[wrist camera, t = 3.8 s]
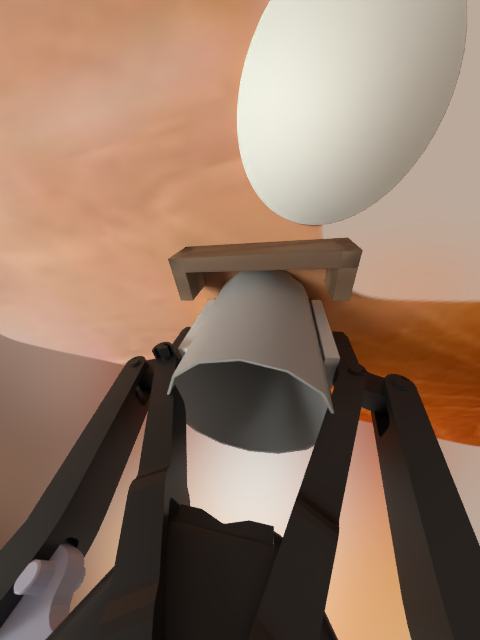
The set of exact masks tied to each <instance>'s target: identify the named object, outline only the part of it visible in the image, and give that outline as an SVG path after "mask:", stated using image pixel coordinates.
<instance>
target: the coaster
mask: <svg viewBox="0 0 480 640" xmlns="http://www.w3.org/2000/svg"><path fill="white" fill-rule="evenodd" d="M466 31H467V0H270V2H269V4H268V5H267V7H266V9H265V11H264V13H263V15H262V17H261V19H260V21H259V24H258V26H257V28H256V31H255V33H254V36H253V38H252V41H251V44H250V47H249V50H248V53H247V56H246V59H245V64H244V68H243V72H242V76H241V82H240V88H239V95H238V107H237V134H238V142H239V150H240V154H241V158H242V163H243V166H244V169H245V172H246V175H247V177H248V179H249V181H250V183H251V185H252V187H253V189H254V190H255V192H256V193H257V195H258V196H259V198H260V199H261V200H262V201H263V202H264V204H265V205H266V206H268V207H269V208H270V209H271V210H272V211H273V212H275V213H276V214H278V215H279V216H281V217H283V218H285V219H287V220H289V221H292V222H296V223H299V224H306V225H322V224H330V223H333V222H337V221H341V220H344V219H346V218H349V217H351V216H354V215H356V214H357V213H359V212H361V211H363V210H365V209H366V208H368V207H369V206H371V205H372V204H374V203H375V202H377V201H378V200H379V199H381V198H382V197H383V196H384V195H386V194H387V193H388V192H389V191H390V190H391V189H392V188H393V187H394V186H395V185H397V183H399V181H401V180H402V178H403V177H404V176H405V175H406V174H407V173H408V172H409V170H410V169H411V168H412V167H413V166H414V164H415V163H416V162H417V160H418V159H419V157H420V156H421V154H422V153H423V152H424V151H425V149H426V147H427V146H428V144H429V142H430V141H431V139H432V138H433V136H434V134H435V132H436V130H437V128H438V127H439V125H440V122H441V121H442V119H443V117H444V115H445V112H446V110H447V107H448V105H449V103H450V100H451V98H452V95H453V92H454V89H455V86H456V82H457V79H458V76H459V73H460V68H461V64H462V59H463V54H464V50H465V40H466Z"/></svg>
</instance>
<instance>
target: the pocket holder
mask: <svg viewBox="0 0 480 640" xmlns="http://www.w3.org/2000/svg"><path fill="white" fill-rule="evenodd" d="M361 254H362V249H360V248H359V247H358V246H357V245H356V244H355V243H353V242H352V241H351V240H350V239H349V238H334V239H317V240H299V241H282V242H265V243H247V244H230V245H213V246H195V247H185V248H184V249H182V250H181V251H179V252H178V253H176V254H175V255H173V256H172V257H170V258H169V259H168V260H169V263H170V266H171V270H172V273H173V276H174V279H175V282H176V286H177V289H178V292H179V295H180V298H181V300H194V299H195V297H196V296H197V295H198V293H199V292H200V291H201V289H202V288H203V287H204V285H205V284H206V283H205V279H204V274H203V272H223V271H258V270H294V269H327V271H326V277H325V284H326V287H327V289H328V291H329V294H330V296H331V298H332V301H349V300H350V296H351V292H352V288H353V284H354V281H355V277H356V273H357V269H358V266H359V261H360V258H361Z"/></svg>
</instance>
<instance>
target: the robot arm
mask: <svg viewBox="0 0 480 640" xmlns="http://www.w3.org/2000/svg"><path fill="white" fill-rule="evenodd" d="M214 302H215V300H213V299H209V300H208V302H207V303H206V305H205V306H204V308H203V310H202V311H201V313H200V314H199V316H198V317H197V319H196V321H195V322H194V324H193V325H192V327H186V328H185V329H183V330H182V331H181V332H180V334H179V336H178V337H177V338H176V340H175V341H174V343H173V344H171V343H170V342H162V343H160V344H158V345H156V346H155V347H154V348H153V350H152V352H153V354H154V356H155V358H156V359H152V360H147V361H146V359H145V358H144V357H143V356H138V357H134V358H132V359H131V360H129V361H128V362H127V363H126V365H125V366H124V368H123V369H122V371H121V373H120V374H119V376H118V377H117V379H116V380H115V382H114V384H113V385H112V387H111V388H110V390H109V392H108V393H107V395H106V396H105V398H104V399H103V401H102V402H101V404H100V406H99V407H98V409H97V411H96V412H95V414H94V415H93V417H92V418H91V420H90V421H89V423H88V425H87V426H86V428H85V429H84V431H83V432H82V434H81V435H80V437H79V439H78V440H77V442H76V443H75V445H74V446H73V448H72V450H71V451H70V453H69V454H68V456H67V457H66V459H65V461H64V462H63V464H62V465H61V467H60V469H59V470H58V472H57V473H56V475H55V476H54V478H53V480H52V481H51V483H50V484H49V486H48V487H47V489H46V490H45V492H44V494H43V495H42V497H41V498H40V500H39V501H38V503H37V505H36V506H35V508H34V509H33V511H32V513H31V514H30V516H29V517H28V519H27V520H26V522H25V523H24V524H23V525H22V526H21V527H20V529H19V530H18V531H17V532H16V533H15V534H14V536H13V537H12V538H11V539H10V540H9V541H8V542H7V543H6V545H5V546H4V547H3V548H2V549H1V550H0V640H338V639H337V637H336V635H335V632H334V630H333V628H332V626H331V624H330V622H329V620H328V617H327V615H326V613H325V611H324V610H325V605H326V600H327V595H328V590H329V584H330V579H331V574H332V569H333V563H334V558H335V552H336V548H337V542H338V536H339V517H340V512H341V507H342V501H343V497H344V492H345V487H346V482H347V476H348V471H349V466H350V462H351V456H352V451H353V446H354V441H355V436H356V430H357V426H358V421H359V416H360V411H361V407H363V408H365V409H368V410H371V415H372V421H373V427H374V433H375V439H376V445H377V450H378V456H379V463H380V469H381V474H382V480H383V487H384V493H385V498H386V505H387V511H388V517H389V523H390V529H391V534H392V541H393V546H394V553H395V559H396V565H397V570H398V576H399V582H400V589H401V594H402V600H403V605H404V609H405V614H406V620H407V624H408V628H409V632H410V636H411V639H412V640H480V546H479V543H478V541H477V538H476V536H475V533H474V531H473V528H472V526H471V523H470V521H469V518H468V516H467V514H466V511H465V508H464V506H463V503H462V501H461V498H460V496H459V493H458V491H457V488H456V486H455V483H454V481H453V478H452V476H451V474H450V471H449V468H448V466H447V463H446V461H445V458H444V456H443V453H442V451H441V448H440V446H439V443H438V441H437V438H436V436H435V433H434V431H433V428H432V426H431V423H430V421H429V418H428V416H427V413H426V411H425V408H424V406H423V403H422V401H421V398H420V396H419V393H418V391H417V388H416V386H415V385H414V383H413V382H411V381H410V380H409V379H407V378H406V377H404V376H401V375H398V374H390V375H387V376H386V377H385V378H383V377H380V376H376V375H373V374H371V373H369V372H367V371H366V369H365V368H364V367H363V366H362V365H360V364H359V363H358V361H357V358H356V356H355V353H354V351H353V349H352V346H351V344H350V342H349V339H348V337H347V336H346V335H345V334H344V333H343V332H331V329H330V326H329V323H328V320H327V317H326V313H325V310H324V307H323V304H322V301H321V300H311V308H312V313H313V317H314V321H315V326H316V330H317V335H318V339H319V343H320V348H321V352H322V356H323V361H324V365H325V369H326V373H327V378H328V382H329V386H330V388H332V384H333V385H334V390H333V393H332V396H331V401H332V405H333V410H334V413H331V412H330V410H329V408H328V407H327V410H326V413H325V416H324V419H323V422H322V425H321V428H320V431H319V434H318V437H317V440H316V443H315V446H314V449H313V452H312V455H311V458H310V461H309V464H308V467H307V469H306V472H305V475H304V479H303V481H302V484H301V487H300V490H299V493H298V496H297V498H296V501H295V504H294V507H293V510H292V513H291V516H290V519H289V522H288V524H287V528H286V530H285V533H284V537H281V536H280V535H279V534H277V533H276V532H274V527H273V526H270V525H265V524H261V523H257V522H253V521H243V522H235V523H228V524H223V523H221V522H220V521H218V520H217V519H215V518H214V517H212V516H211V515H210V514H208V513H207V512H205V511H204V510H202V509H199V508H195V507H191V506H190V499H189V493H188V488H187V456H186V455H187V454H186V409H185V404H184V400H183V398H182V396H181V394H180V393H179V391H178V389H177V387H176V385H174V387H173V389H172V391H171V393H170V394H169V395H168V394H167V393H168V389H169V385H170V382H171V378H172V376H173V374H174V372H175V370H176V369H177V367H178V365H179V363H180V362H181V360H182V358H183V356H184V355H185V353H186V351H187V349H188V348H189V346H190V344H191V342H192V341H193V339H194V337H195V335H196V334H197V332H198V330H199V328H200V327H201V325H202V323H203V321H204V319H205V318H206V316H207V314H208V312H209V311H210V309H211V307H212V305H213V304H214ZM147 411H148V415H147V421H146V427H145V434H144V440H143V446H142V452H141V458H140V465H139V471H138V475H137V477H136V479H134V480H133V481H132V483H131V485H130V487H129V491H128V495H127V501H126V507H125V512H124V517H123V523H122V528H121V534H120V540H119V545H118V550H117V556H116V561H115V566H114V567H113V568H112V569H111V570H110V571H109V572H108V574H106V575H105V577H104V578H103V579H102V580H101V581H100V582H99V583H98V584H97V585H96V586H95V587H94V588H93V589H92V590H91V591H90V593H89V594H88V595H87V596H86V597H85V598H84V599H83V600H82V601H81V602H80V603H79V604H78V605H77V606H76V607H75V608H74V610H73V611H72V612H71V613H70V614H69V609H70V603H71V600H72V596H73V593H74V592H75V591H76V590H77V589H78V588H79V587H80V585H81V583H82V582H83V579H84V576H85V567H84V557H85V555H86V554H87V552H88V550H89V548H90V546H91V545H92V543H93V541H94V539H95V537H96V535H97V533H98V531H99V529H100V526H101V524H102V522H103V520H104V517H105V515H106V513H107V510H108V508H109V505H110V503H111V500H112V498H113V495H114V493H115V491H116V488H117V486H118V483H119V481H120V478H121V476H122V473H123V471H124V468H125V465H126V463H127V461H128V458H129V456H130V453H131V451H132V448H133V446H134V444H135V441H136V439H137V436H138V434H139V431H140V429H141V426H142V424H143V421H144V419H145V416H146V414H147ZM273 538H274V544H273Z"/></svg>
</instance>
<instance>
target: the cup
mask: <svg viewBox="0 0 480 640" xmlns="http://www.w3.org/2000/svg"><path fill="white" fill-rule="evenodd" d="M174 385H176V387H177V389H178V391H179V393H180V394H181V396H182V398H183V400H184V404H185V409H186V424H188V425H189V426H190V427H191V428H192V429H194V430H195V431H196V432H198V433H200V434H203V435H205V436H207V437H209V438H211V439H213V440H215V441H217V442H219V443H222V444H225V445H229V446H232V447H236V448H240V449H243V450H247V451H255V452H266V453H278V454H279V453H286V452H293V451H300V450H307V449H309V448H311V447H313V446H315V443H316V440H317V437H318V434H319V431H320V428H321V425H322V422H323V419H324V416H325V413H326V410H327V407H328V408H329V410H330V412H331V413H334V410H333V405H332V401H331V396H332V395H331V391H330V386H329V382H328V378H327V373H326V369H325V365H324V361H323V356H322V352H321V348H320V343H319V339H318V335H317V330H316V326H315V321H314V317H313V313H312V308H311V304H310V301H309V299H308V296H307V294H306V291H305V289H304V286H303V285H302V284H301V283H300V282H299V281H297V280H296V279H295V278H293V277H292V276H291V275H290V274H288V273H287V272H286V271H282V270H258V271H240V272H239V273H237V274H236V275H235V276H234V277H233V278H231V279H230V280H229V281H228V282H226V283H225V284H224V286H223V288H222V290H221V291H220V293H219V295H218V297H217V298H216V300H215V302H214V304H213V305H212V307H211V309H210V311H209V312H208V314H207V316H206V318H205V319H204V321H203V323H202V325H201V327H200V328H199V330H198V332H197V334H196V335H195V337H194V339H193V341H192V342H191V344H190V346H189V348H188V349H187V351H186V353H185V355H184V356H183V358H182V360H181V362H180V363H179V365H178V367H177V369H176V370H175V372H174V374H173V376H172V378H171V382H170V385H169V389H168V393H167V394H168V395H169V394H170V393H171V391H172V389H173V387H174Z"/></svg>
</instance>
